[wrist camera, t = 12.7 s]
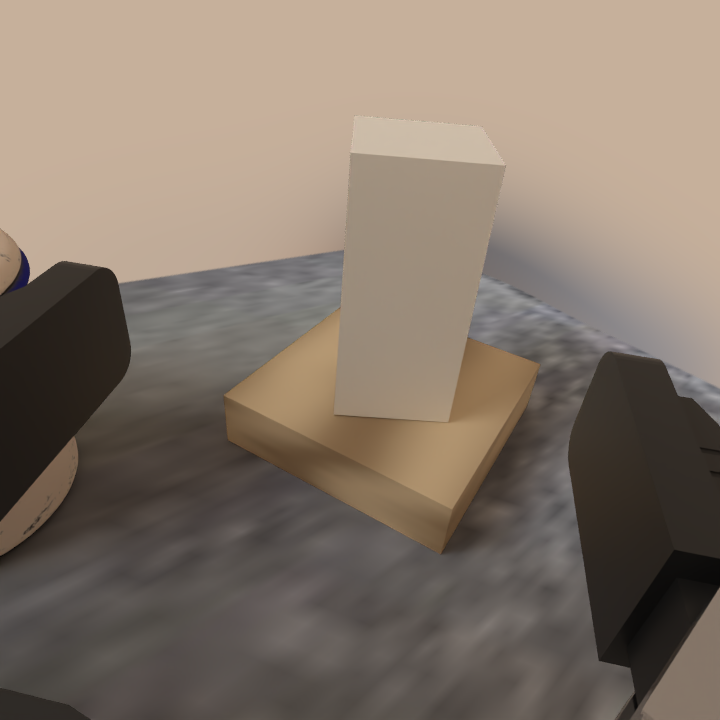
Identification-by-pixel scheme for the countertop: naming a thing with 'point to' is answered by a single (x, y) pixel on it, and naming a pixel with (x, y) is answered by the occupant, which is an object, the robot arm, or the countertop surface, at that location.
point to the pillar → (412, 263)
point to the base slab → (381, 434)
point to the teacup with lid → (3, 275)
